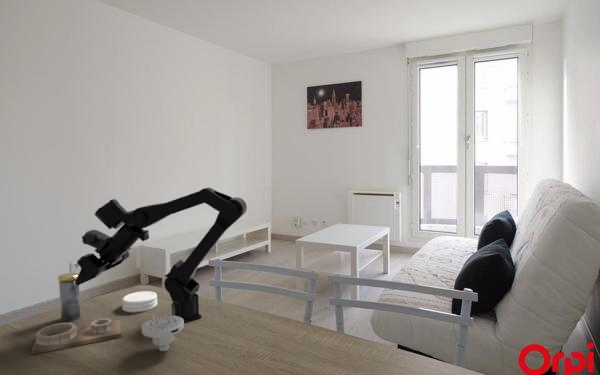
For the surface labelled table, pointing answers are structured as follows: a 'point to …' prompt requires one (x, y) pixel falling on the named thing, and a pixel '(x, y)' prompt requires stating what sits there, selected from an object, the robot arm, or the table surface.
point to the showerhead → (162, 329)
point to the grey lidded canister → (69, 297)
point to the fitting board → (82, 338)
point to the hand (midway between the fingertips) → (85, 279)
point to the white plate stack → (139, 301)
